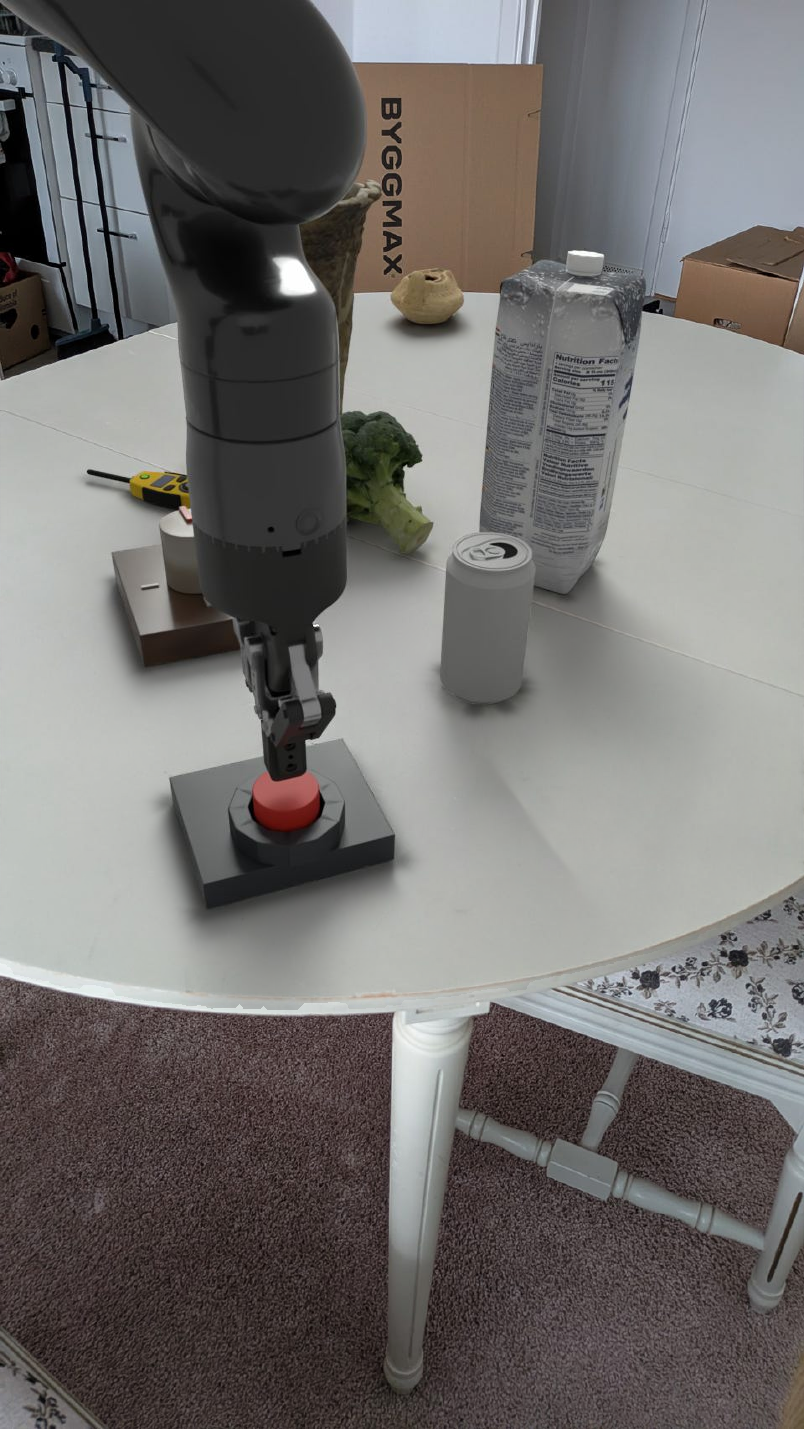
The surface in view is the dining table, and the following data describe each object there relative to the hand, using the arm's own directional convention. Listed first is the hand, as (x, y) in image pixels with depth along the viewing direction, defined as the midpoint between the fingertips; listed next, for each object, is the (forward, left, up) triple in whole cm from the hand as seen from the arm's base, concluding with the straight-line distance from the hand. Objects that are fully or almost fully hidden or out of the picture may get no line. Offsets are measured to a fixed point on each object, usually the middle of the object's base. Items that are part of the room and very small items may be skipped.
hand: (285, 771), depth 59 cm
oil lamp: (+52, +101, -7) cm, 114 cm away
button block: (0, +2, -7) cm, 7 cm away
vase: (+20, +64, -7) cm, 67 cm away
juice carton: (+32, +27, -7) cm, 42 cm away
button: (0, 0, -3) cm, 3 cm away
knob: (+1, +30, -4) cm, 30 cm away
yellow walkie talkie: (+1, +54, -7) cm, 54 cm away
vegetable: (+20, +39, -7) cm, 44 cm away
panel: (+1, +30, -7) cm, 31 cm away
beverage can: (+19, +12, -7) cm, 23 cm away
